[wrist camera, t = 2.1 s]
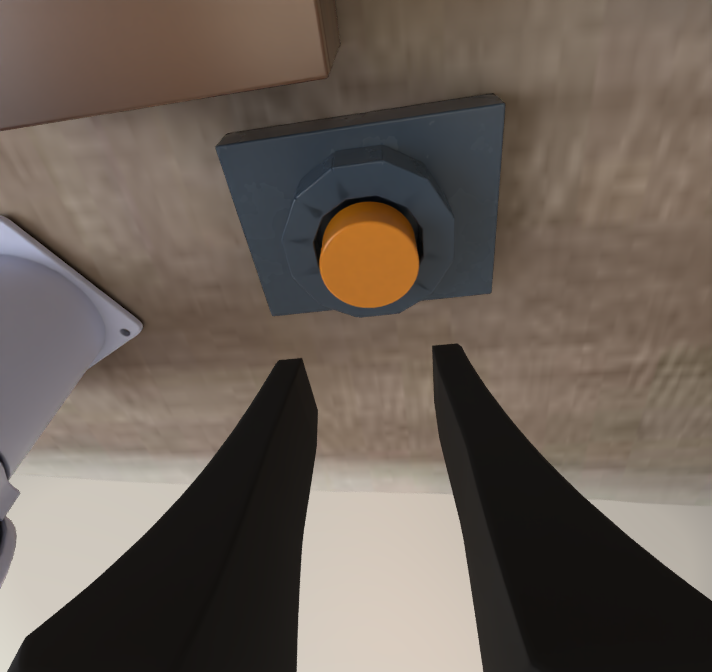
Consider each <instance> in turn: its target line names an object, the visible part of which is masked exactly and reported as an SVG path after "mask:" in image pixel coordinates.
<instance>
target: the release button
mask: <svg viewBox="0 0 712 672" xmlns="http://www.w3.org/2000/svg"><path fill="white" fill-rule="evenodd" d="M319 268H320V274H321V277H322V280H323V282H324V284H325V285H326V287H327V288H328V290H329V291H330V292H331V293H332V294H333V295H334V296H335V297H337V298H338V299H340V300H341V301H343V302H345V303H347V304H350V305H353V306H356V307H362V308H376V307H382V306H385V305H388V304H391V303H393V302H395V301H397V300H398V299H400V298H401V297H403V296H404V295H405V294H406V293H407V292H408V291H409V290H410V288H411V287H412V285H413V284H414V282H415V280H416V278H417V275H418V271H419V255H418V250H417V245H416V239H415V234H414V231H413V228H412V226H411V224H410V223H409V221H408V220H407V218H406V217H405V216H404V215H403V214H402V213H401V212H400V211H398V210H397V209H395V208H393V207H391V206H389V205H387V204H384V203H379V202H370V201H369V202H360V203H355V204H352V205H350V206H348V207H346V208H344V209H342V210H341V211H339V212H338V213H337V214H336V215H335V216H334V217H333V218H332V219H331V220H330V222H329V223H328V225H327V227H326V229H325V232H324V235H323V242H322V248H321V254H320V260H319Z"/></svg>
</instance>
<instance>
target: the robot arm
mask: <svg viewBox="0 0 712 672" xmlns="http://www.w3.org/2000/svg"><path fill="white" fill-rule="evenodd" d="M125 329H127V330H128V331H126V330H125ZM142 329H143V325H142V323H141V322H140V321H139V320H138V319H137V318H136V317H134V316H133V315H132V314H131V313H129V312H128V311H127V310H125V309H124V308H123V307H121V306H120V305H119V304H118V303H116V302H115V301H114V300H112V299H111V298H110V297H109V296H107V295H106V294H105V293H103V292H102V291H101V290H100V289H98V288H97V287H96V286H94V285H93V284H92V283H91V282H89V281H88V280H87V279H85V278H84V277H83V276H82V275H80V274H79V273H78V272H76V271H75V270H74V269H73V268H71V267H70V266H69V265H67V264H66V263H65V262H64V261H62V260H61V259H60V258H58V257H57V256H56V255H55V254H53V253H52V252H51V251H49V250H48V249H47V248H46V247H44V246H43V245H42V244H40V243H39V242H38V241H37V240H35V239H34V238H33V237H31V236H30V235H29V234H28V233H26V232H25V231H24V230H22V229H21V228H20V227H18V226H17V225H16V224H15V223H13V222H12V221H11V220H9V219H8V218H6V217H4V216H1V215H0V588H1V586H2V584H3V582H4V580H5V578H6V575H7V573H8V570H9V567H10V564H11V561H12V559H13V555H14V551H15V547H16V529H15V526H14V524H13V523H12V521H11V520H10V519H9V518H7V517H6V514H7V512H8V511H9V510H10V508H11V507H12V505H13V504H14V502H15V500H16V499H17V498H18V496H19V495H20V492H19V490H17V489H16V488H15V487H13V486H12V485H11V484H10V483H9V479H10V478H11V476H12V475H13V474H14V472H15V471H16V469H17V468H18V467H19V465H20V464H21V462H22V461H23V459H24V458H25V457H26V455H27V454H28V452H29V451H30V450H31V448H32V447H33V445H34V444H35V442H36V441H37V440H38V438H39V437H40V435H41V434H42V433H43V431H44V430H45V428H46V427H47V425H48V424H49V423H50V421H51V420H52V418H53V417H54V416H55V414H56V413H57V411H58V410H59V409H60V407H61V406H62V404H63V403H64V401H65V400H66V399H67V397H68V396H69V394H70V393H71V392H72V390H73V389H74V387H75V386H76V384H77V383H78V382H79V380H80V379H81V377H82V376H83V375H84V373H85V372H86V370H87V369H89V368H90V367H92V366H93V365H95V364H96V363H97V362H99V361H100V360H102V359H103V358H105V357H106V356H108V355H109V354H110V353H112V352H113V351H115V350H116V349H118V348H119V347H121V346H122V345H123V344H125V343H126V342H128V341H129V340H131V339H132V338H134V337H135V336H136V335H138V334H139V333H140V332H141V330H142ZM432 354H433V381H434V403H435V410H436V418H437V425H438V432H439V438H440V443H441V447H442V451H443V455H444V459H445V463H446V467H447V471H448V475H449V479H450V483H451V487H452V491H453V495H454V499H455V503H456V508H457V511H458V515H459V520H460V524H461V529H462V534H463V539H464V545H465V551H466V558H467V564H468V570H469V577H470V584H471V591H472V597H473V604H474V610H475V617H476V623H477V631H478V638H479V645H480V652H481V658H482V665H483V672H712V601H711V600H710V599H709V598H707V597H706V596H705V595H703V594H702V593H700V592H699V591H698V590H696V589H695V588H694V587H692V586H691V585H690V584H688V583H687V582H686V581H685V580H683V579H682V578H680V577H679V576H678V575H677V574H675V573H674V572H673V571H671V570H670V569H669V568H668V567H666V566H665V565H663V564H662V563H661V562H660V561H659V560H657V559H656V558H655V557H654V556H652V555H651V554H650V553H649V552H647V551H646V550H645V549H644V548H642V547H641V546H640V545H639V544H638V543H636V542H635V541H634V540H633V539H631V538H630V537H629V536H628V535H627V534H625V533H624V532H623V531H622V530H621V529H620V528H619V527H618V526H616V525H615V524H614V523H613V522H612V521H611V520H610V519H608V518H607V517H606V516H605V515H604V514H603V513H602V512H600V511H599V510H598V509H597V508H596V507H595V506H594V505H592V504H591V503H590V502H589V501H588V500H587V499H586V498H584V497H583V496H582V495H581V494H580V493H579V492H578V491H577V490H576V489H575V488H574V487H573V486H572V485H571V484H570V483H569V482H568V481H567V480H566V479H565V478H564V477H563V476H562V475H561V474H560V473H559V472H558V471H557V470H556V469H555V468H554V467H553V466H552V465H551V464H550V463H549V462H548V461H547V460H546V459H545V458H544V457H543V456H542V455H541V454H540V453H539V451H538V450H537V449H536V448H535V447H534V446H533V445H532V444H531V443H530V442H529V440H528V439H527V438H526V437H525V436H524V435H523V433H522V432H521V431H520V430H519V429H518V427H517V426H516V425H515V424H514V423H513V421H512V420H511V419H510V418H509V417H508V415H507V414H506V413H505V411H504V410H503V409H502V408H501V406H500V405H499V404H498V402H497V401H496V400H495V398H494V397H493V396H492V394H491V393H490V392H489V390H488V389H487V387H486V386H485V384H484V383H483V382H482V380H481V379H480V377H479V376H478V374H477V373H476V371H475V369H474V368H473V366H472V365H471V363H470V361H469V360H468V358H467V356H466V354H465V352H464V350H463V348H462V347H461V346H460V345H459V344H447V345H436V346H432ZM317 423H318V409H317V406H316V403H315V399H314V396H313V393H312V390H311V386H310V383H309V380H308V376H307V373H306V370H305V367H304V363H303V360H302V358H297V359H287V360H279V361H278V362H277V363H276V364H275V366H274V368H273V369H272V371H271V373H270V374H269V376H268V378H267V379H266V381H265V382H264V384H263V386H262V387H261V389H260V391H259V392H258V394H257V395H256V397H255V398H254V400H253V402H252V403H251V405H250V406H249V408H248V409H247V411H246V412H245V414H244V415H243V417H242V418H241V420H240V421H239V423H238V424H237V426H236V427H235V429H234V430H233V431H232V433H231V434H230V435H229V437H228V438H227V440H226V441H225V442H224V444H223V445H222V446H221V448H220V449H219V450H218V452H217V453H216V454H215V456H214V457H213V458H212V460H211V461H210V462H209V463H208V465H207V466H206V467H205V468H204V470H203V471H202V472H201V473H200V475H199V476H198V477H197V478H196V479H195V481H194V482H193V483H192V484H191V485H190V486H189V488H188V489H187V490H186V491H185V492H184V493H183V494H182V496H181V497H180V498H179V499H178V500H177V501H176V502H175V503H174V504H173V505H172V506H171V508H170V509H169V510H168V511H167V512H166V513H165V514H164V515H163V516H162V517H161V518H160V519H159V520H158V521H157V523H155V524H154V525H153V527H152V528H150V530H148V531H147V533H145V535H143V537H142V538H140V539H139V540H138V541H137V542H136V543H135V544H134V545H133V546H132V547H131V548H130V549H129V550H128V551H127V552H125V553H124V554H123V555H122V556H121V557H120V558H119V559H118V560H117V561H116V562H115V563H114V564H113V565H112V566H110V567H109V568H108V569H107V570H106V571H105V572H104V573H103V574H102V575H101V576H99V577H98V578H97V579H96V580H95V581H94V582H93V583H92V584H90V585H89V586H88V587H87V588H86V589H84V590H83V591H82V592H81V593H80V594H78V595H77V596H76V597H75V598H74V599H72V600H71V601H70V602H69V603H67V604H66V605H65V606H64V607H63V608H61V609H60V610H59V611H58V612H57V613H55V614H54V615H53V616H52V617H50V618H49V619H48V620H47V621H45V622H44V623H43V624H42V625H41V626H39V627H38V628H37V629H36V630H34V631H33V632H32V633H30V635H28V636H27V637H26V638H25V640H24V641H23V643H22V645H21V646H20V648H19V650H18V652H17V654H16V656H15V658H14V660H13V661H12V664H11V666H10V667H9V669H8V671H7V672H296V671H297V637H298V612H299V588H300V571H301V554H302V541H303V534H304V526H305V519H306V512H307V506H308V500H309V494H310V487H311V481H312V474H313V468H314V461H315V454H316V447H317Z"/></svg>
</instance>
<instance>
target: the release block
mask: <svg viewBox="0 0 712 672" xmlns="http://www.w3.org/2000/svg"><path fill="white" fill-rule="evenodd" d="M504 119H505V103H504V102H503V101H502V100H501V99H500V98H499V97H498V96H496V95H495V94H494V93H492V94H485V95H479V96H472V97H466V98H459V99H452V100H446V101H439V102H433V103H426V104H420V105H413V106H406V107H400V108H393V109H387V110H380V111H373V112H367V113H360V114H354V115H347V116H340V117H334V118H327V119H321V120H314V121H308V122H301V123H294V124H288V125H281V126H275V127H268V128H261V129H255V130H248V131H242V132H235V133H228V134H226V135H225V136H224V137H223V138H222V140H221V141H220V142H219V143H218V144H217V145H216V151H217V154H218V157H219V160H220V163H221V166H222V169H223V172H224V175H225V178H226V181H227V184H228V187H229V190H230V193H231V196H232V199H233V202H234V205H235V208H236V211H237V214H238V217H239V219H240V222H241V225H242V228H243V231H244V234H245V237H246V240H247V243H248V246H249V249H250V252H251V255H252V258H253V261H254V264H255V267H256V270H257V273H258V276H259V279H260V282H261V285H262V288H263V291H264V294H265V297H266V300H267V303H268V306H269V309H270V312H271V315H272V316H280V315H290V314H300V313H309V312H319V311H328V310H336V311H339V312H342V313H345V314H348V315H351V316H354V317H360V318H361V317H371V316H380V315H390V314H397V313H398V314H399V313H401V312H402V311H404V310H406V309H407V308H409V307H411V306H413V305H414V304H416V303H418V302H419V301H424V300H433V299H443V298H452V297H462V296H471V295H481V294H490V293H491V292H492V279H493V266H494V253H495V239H496V226H497V212H498V199H499V186H500V172H501V159H502V145H503V132H504ZM369 201H370V202H379V203H384V204H387V205H389V206H391V207H393V208H395V209H397V210H398V211H400V212H401V213H402V214H403V215H404V216H405V217H406V218H407V220H408V221H409V223H410V224H411V226H412V228H413V231H414V234H415V239H416V245H417V250H418V255H419V271H418V275H417V278H416V280H415V282H414V284H413V285H412V287H411V288H410V290H409V291H408V292H407V293H406V294H405V295H404V296H403V297H401V298H400V299H398V300H397V301H395V302H393V303H391V304H388V305H385V306H382V307H376V308H362V307H356V306H353V305H350V304H347V303H345V302H343V301H341V300H340V299H338V298H337V297H335V296H334V295H333V294H332V293H331V292H330V291H329V290H328V288H327V287H326V285H325V284H324V282H323V280H322V277H321V274H320V268H319V260H320V254H321V248H322V242H323V235H324V232H325V229H326V227H327V225H328V223H329V222H330V220H331V219H332V218H333V217H334V216H335V215H336V214H337V213H338V212H339V211H341V210H342V209H344V208H346V207H348V206H350V205H352V204H355V203H360V202H369Z"/></svg>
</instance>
